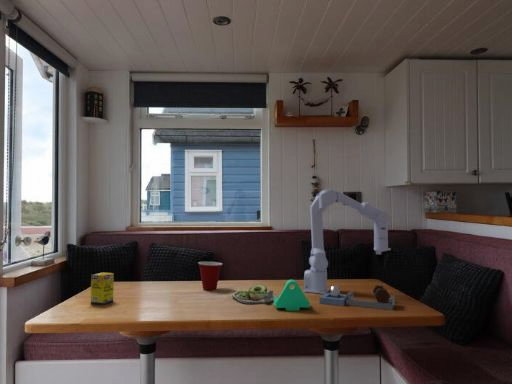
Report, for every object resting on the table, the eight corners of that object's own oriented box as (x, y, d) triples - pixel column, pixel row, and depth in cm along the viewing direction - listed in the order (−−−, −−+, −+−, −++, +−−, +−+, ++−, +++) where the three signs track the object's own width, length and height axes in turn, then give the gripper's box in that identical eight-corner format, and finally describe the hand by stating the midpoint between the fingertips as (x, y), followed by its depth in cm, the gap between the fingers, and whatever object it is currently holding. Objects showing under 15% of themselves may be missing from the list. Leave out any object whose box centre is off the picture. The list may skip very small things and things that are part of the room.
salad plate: (287, 304, 146) (287, 292, 146) (242, 308, 140) (242, 295, 141) (270, 293, 164) (270, 282, 165) (229, 296, 159) (229, 285, 159)
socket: (319, 303, 146) (319, 297, 146) (326, 298, 154) (326, 292, 154) (343, 306, 142) (343, 300, 142) (349, 300, 150) (349, 294, 150)
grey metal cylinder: (329, 302, 147) (329, 286, 147) (331, 300, 150) (331, 285, 150) (338, 303, 146) (338, 287, 146) (340, 301, 149) (340, 285, 149)
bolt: (380, 298, 162) (384, 306, 147) (369, 292, 163) (372, 299, 148) (387, 286, 162) (392, 293, 147) (376, 280, 163) (380, 286, 148)
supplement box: (103, 305, 144) (103, 275, 144) (90, 304, 145) (90, 274, 146) (113, 301, 149) (114, 272, 150) (100, 300, 151) (101, 272, 151)
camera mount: (305, 304, 145) (305, 277, 145) (309, 310, 137) (309, 281, 137) (273, 305, 144) (273, 277, 144) (276, 311, 136) (275, 281, 136)
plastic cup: (227, 290, 169) (227, 262, 170) (204, 293, 163) (205, 264, 164) (215, 285, 178) (215, 259, 179) (193, 288, 172) (193, 261, 173)
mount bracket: (345, 304, 144) (345, 295, 144) (350, 300, 151) (350, 291, 151) (392, 310, 136) (392, 300, 137) (394, 304, 144) (394, 295, 144)
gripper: (388, 239, 161) (388, 272, 160) (392, 237, 174) (393, 267, 173) (370, 239, 164) (371, 271, 164) (376, 236, 177) (376, 266, 177)
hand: (381, 269), depth 169 cm, fingers closed
